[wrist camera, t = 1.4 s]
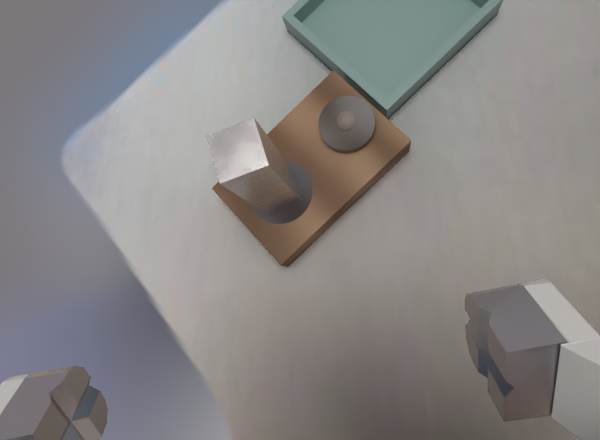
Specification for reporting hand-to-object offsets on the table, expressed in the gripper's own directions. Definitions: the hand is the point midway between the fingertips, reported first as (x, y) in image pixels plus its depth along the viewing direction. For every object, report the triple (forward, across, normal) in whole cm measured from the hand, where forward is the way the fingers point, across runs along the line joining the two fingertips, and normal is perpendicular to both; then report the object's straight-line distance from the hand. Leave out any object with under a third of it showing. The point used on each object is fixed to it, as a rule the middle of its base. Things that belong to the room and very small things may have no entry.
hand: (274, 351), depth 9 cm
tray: (+40, -11, -1) cm, 42 cm away
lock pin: (+29, +2, +9) cm, 30 cm away
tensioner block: (+32, -1, +10) cm, 33 cm away
